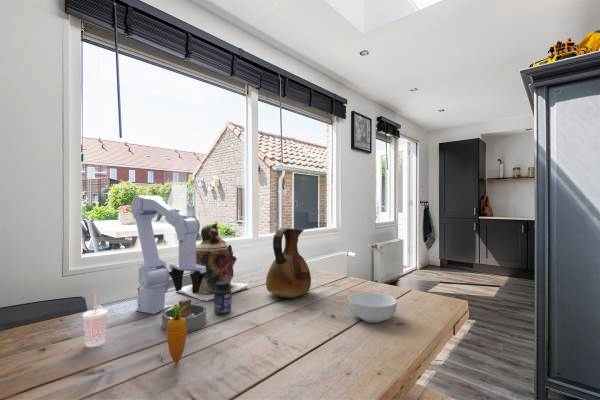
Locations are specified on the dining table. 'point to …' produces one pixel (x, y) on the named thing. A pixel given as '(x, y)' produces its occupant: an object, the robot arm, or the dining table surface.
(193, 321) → the grey ashtray
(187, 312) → the tan wooden plank
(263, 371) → the dining table surface
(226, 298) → the pill bottle
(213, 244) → the cookie jar
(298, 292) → the ceramic pitcher
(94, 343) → the beverage cup
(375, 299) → the cereal bowl
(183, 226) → the robot arm
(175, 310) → the carrot
